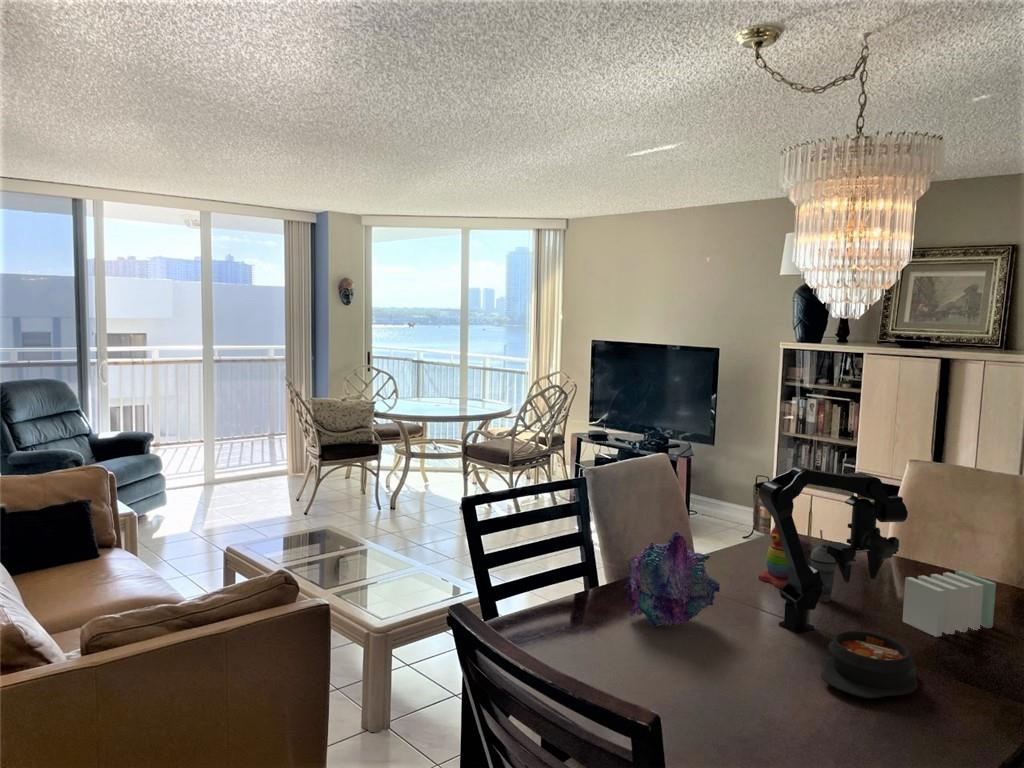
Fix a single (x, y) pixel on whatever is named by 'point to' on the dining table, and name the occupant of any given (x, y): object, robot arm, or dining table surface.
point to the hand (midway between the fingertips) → (859, 580)
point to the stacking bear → (776, 563)
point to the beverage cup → (824, 569)
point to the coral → (669, 583)
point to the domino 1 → (923, 606)
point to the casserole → (869, 665)
